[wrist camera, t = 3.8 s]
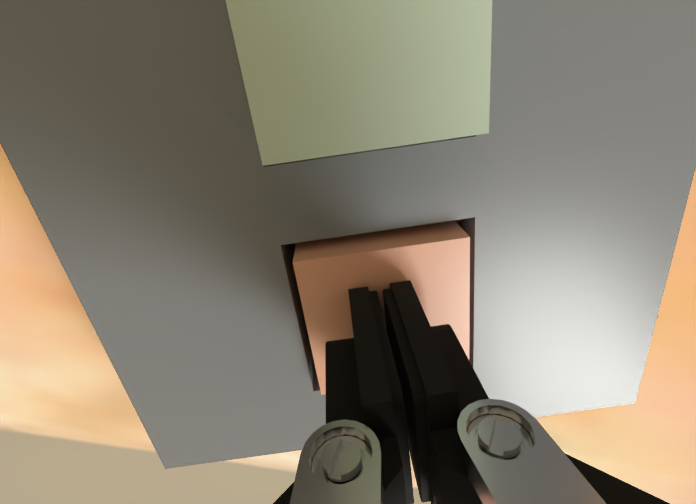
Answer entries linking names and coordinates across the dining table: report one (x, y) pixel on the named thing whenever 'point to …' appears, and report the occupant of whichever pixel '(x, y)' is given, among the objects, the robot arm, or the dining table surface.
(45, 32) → the keypad
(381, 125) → the key sage
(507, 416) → the robot arm
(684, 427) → the dining table surface
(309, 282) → the key terracotta
